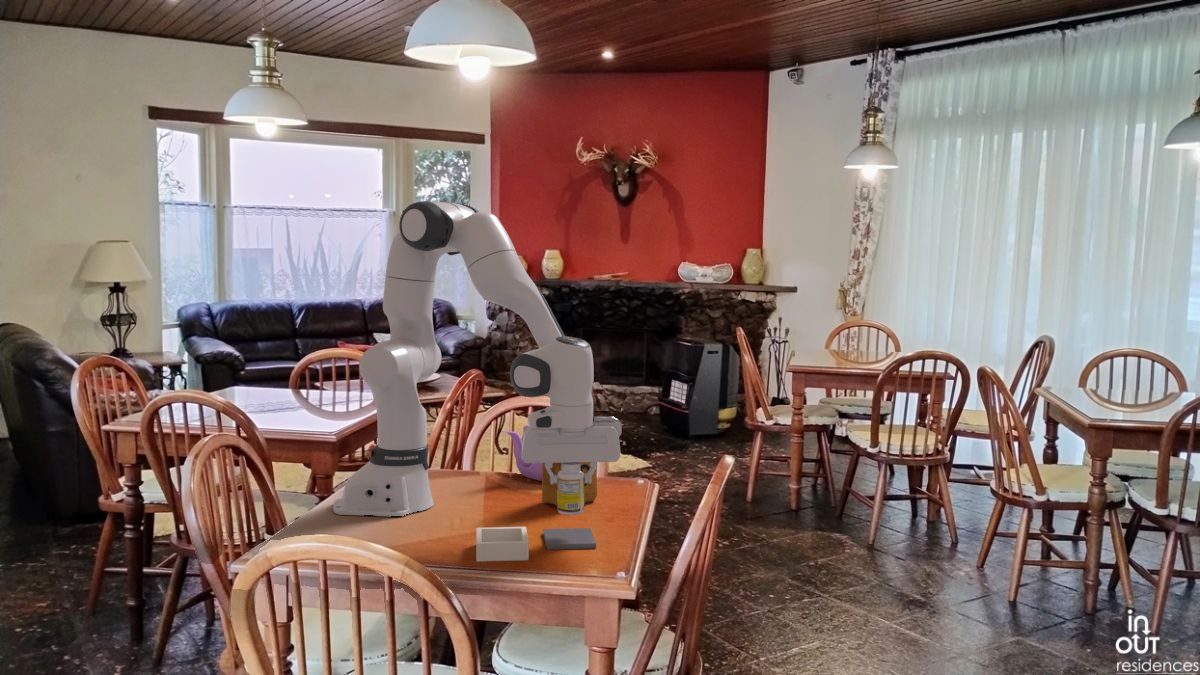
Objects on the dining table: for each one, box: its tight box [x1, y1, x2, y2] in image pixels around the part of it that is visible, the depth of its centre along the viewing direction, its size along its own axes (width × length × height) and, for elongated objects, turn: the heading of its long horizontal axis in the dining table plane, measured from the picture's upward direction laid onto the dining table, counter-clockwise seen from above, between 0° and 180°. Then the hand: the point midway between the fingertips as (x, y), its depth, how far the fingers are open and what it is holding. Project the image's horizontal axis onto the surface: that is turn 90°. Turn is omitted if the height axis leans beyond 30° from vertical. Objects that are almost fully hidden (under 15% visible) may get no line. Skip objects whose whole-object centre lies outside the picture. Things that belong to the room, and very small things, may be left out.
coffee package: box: [541, 462, 598, 506], centre depth 213 cm, size 10×12×22 cm
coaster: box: [542, 527, 597, 550], centre depth 186 cm, size 10×10×1 cm
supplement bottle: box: [556, 462, 585, 516], centre depth 185 cm, size 6×6×10 cm
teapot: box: [505, 424, 542, 482], centre depth 237 cm, size 23×21×15 cm
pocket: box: [475, 526, 530, 562], centre depth 178 cm, size 10×10×4 cm
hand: (570, 483), depth 185 cm, fingers closed on supplement bottle, 5 cm apart
